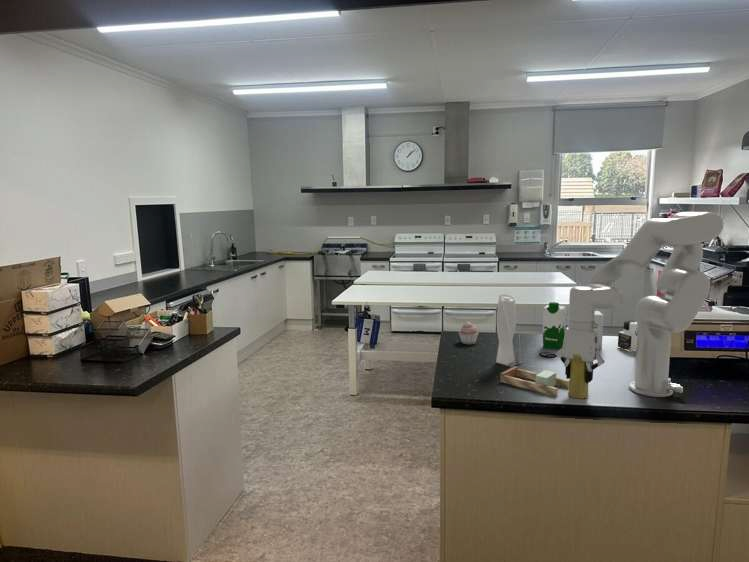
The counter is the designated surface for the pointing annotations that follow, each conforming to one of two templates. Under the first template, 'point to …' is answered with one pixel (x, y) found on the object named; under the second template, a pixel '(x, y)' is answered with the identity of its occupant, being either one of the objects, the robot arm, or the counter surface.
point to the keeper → (546, 378)
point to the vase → (578, 378)
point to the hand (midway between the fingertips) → (578, 379)
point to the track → (514, 371)
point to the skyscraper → (507, 332)
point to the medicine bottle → (628, 336)
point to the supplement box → (599, 320)
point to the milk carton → (553, 326)
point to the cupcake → (468, 333)
